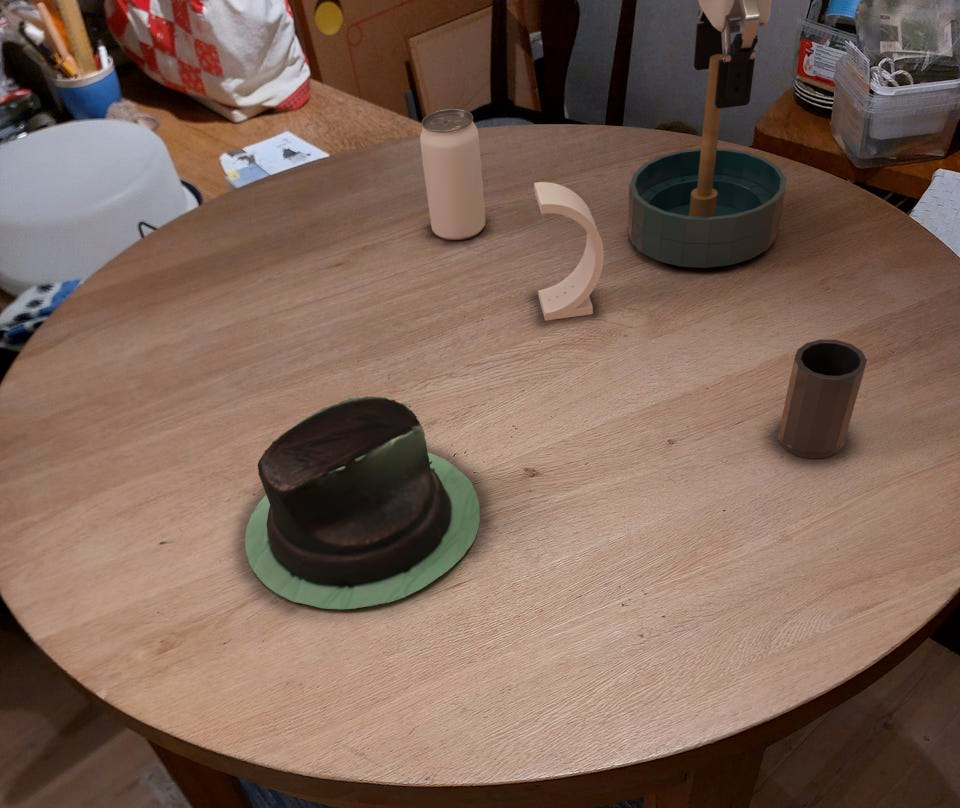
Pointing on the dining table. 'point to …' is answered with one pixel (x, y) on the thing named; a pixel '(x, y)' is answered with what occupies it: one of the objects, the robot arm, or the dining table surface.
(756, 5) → the robot arm
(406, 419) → the dark brown green hat
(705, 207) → the stick
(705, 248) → the bowl
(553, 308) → the headphone stand
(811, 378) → the utensil pot
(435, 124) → the can
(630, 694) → the dining table surface
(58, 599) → the dining table surface
